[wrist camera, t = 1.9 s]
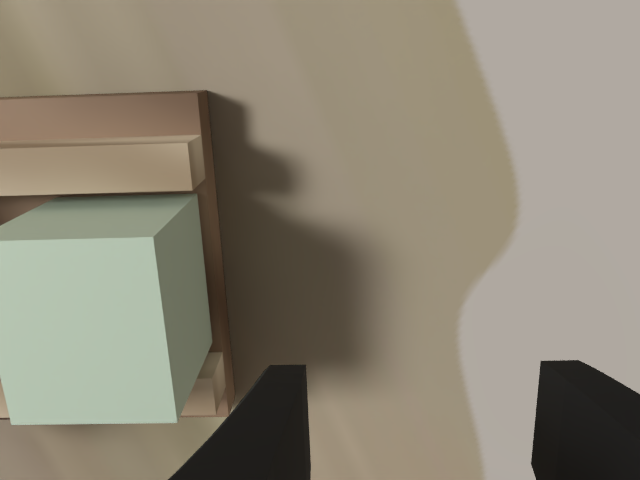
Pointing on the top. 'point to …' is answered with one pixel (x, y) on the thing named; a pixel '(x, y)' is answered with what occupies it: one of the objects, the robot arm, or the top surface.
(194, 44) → the top surface
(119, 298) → the block
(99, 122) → the track
